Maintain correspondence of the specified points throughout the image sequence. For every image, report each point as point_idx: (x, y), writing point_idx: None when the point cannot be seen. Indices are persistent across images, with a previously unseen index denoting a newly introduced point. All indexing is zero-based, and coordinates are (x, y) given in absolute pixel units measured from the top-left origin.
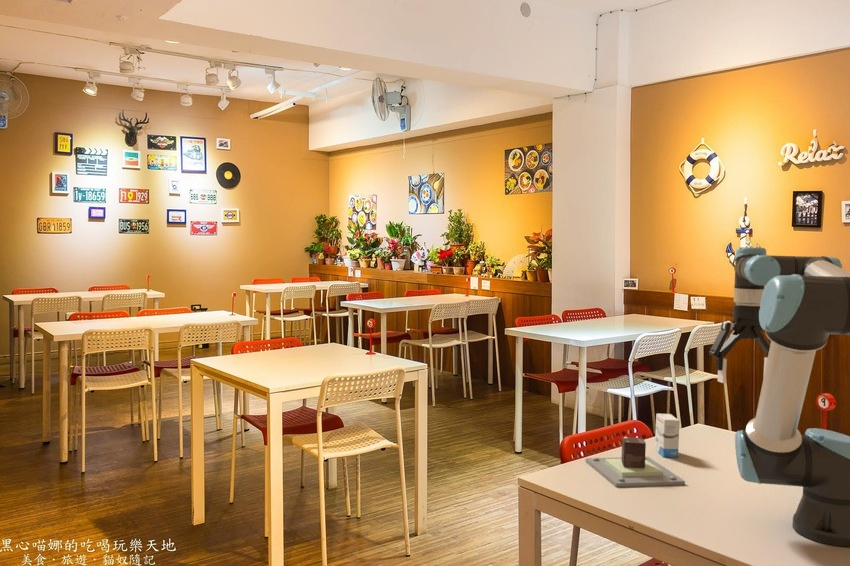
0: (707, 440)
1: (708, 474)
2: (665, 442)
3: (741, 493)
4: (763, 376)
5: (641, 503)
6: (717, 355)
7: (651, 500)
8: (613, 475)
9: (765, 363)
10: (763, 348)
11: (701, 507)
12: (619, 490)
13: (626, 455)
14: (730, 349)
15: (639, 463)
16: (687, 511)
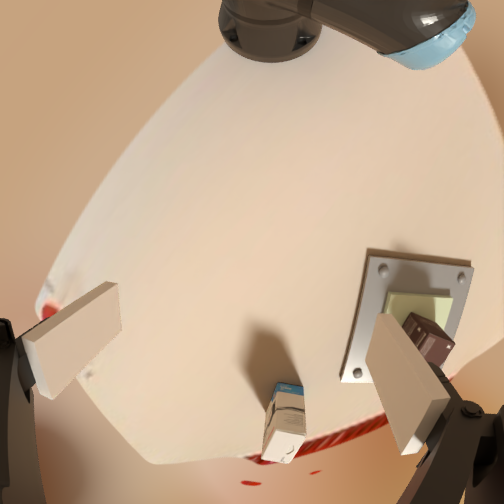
0: (172, 427)
1: (285, 297)
2: (302, 403)
3: (293, 191)
4: (111, 339)
5: (475, 193)
6: (502, 410)
7: (459, 200)
8: (456, 303)
9: (69, 368)
10: (27, 434)
11: (407, 150)
12: (474, 252)
13: (442, 330)
14: (429, 472)
15: (421, 317)
16: (435, 143)
